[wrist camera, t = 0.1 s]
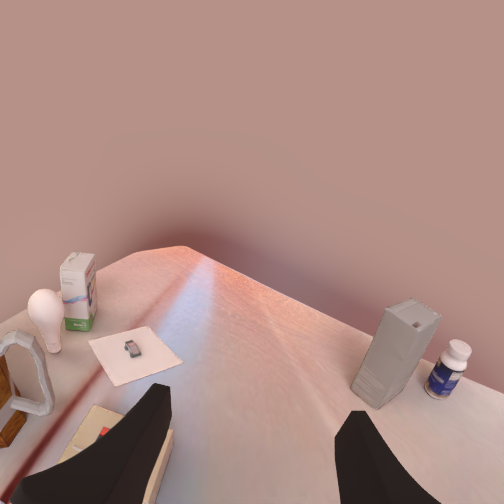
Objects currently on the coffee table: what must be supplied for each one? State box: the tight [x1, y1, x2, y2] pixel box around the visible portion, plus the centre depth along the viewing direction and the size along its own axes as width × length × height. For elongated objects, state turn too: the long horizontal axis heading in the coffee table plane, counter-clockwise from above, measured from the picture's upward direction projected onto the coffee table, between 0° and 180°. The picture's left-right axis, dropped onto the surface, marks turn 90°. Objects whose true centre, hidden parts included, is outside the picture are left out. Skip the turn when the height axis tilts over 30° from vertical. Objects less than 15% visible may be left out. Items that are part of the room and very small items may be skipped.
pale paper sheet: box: [88, 326, 183, 387], centre depth 42 cm, size 12×12×2 cm
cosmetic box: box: [350, 298, 442, 410], centre depth 39 cm, size 8×7×16 cm
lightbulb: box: [28, 289, 65, 353], centre depth 35 cm, size 6×6×11 cm
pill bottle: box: [425, 339, 472, 400], centre depth 39 cm, size 6×6×10 cm
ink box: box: [60, 252, 97, 331], centre depth 46 cm, size 9×5×12 cm, turn 17°
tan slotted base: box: [57, 405, 174, 504], centre depth 22 cm, size 11×10×3 cm
